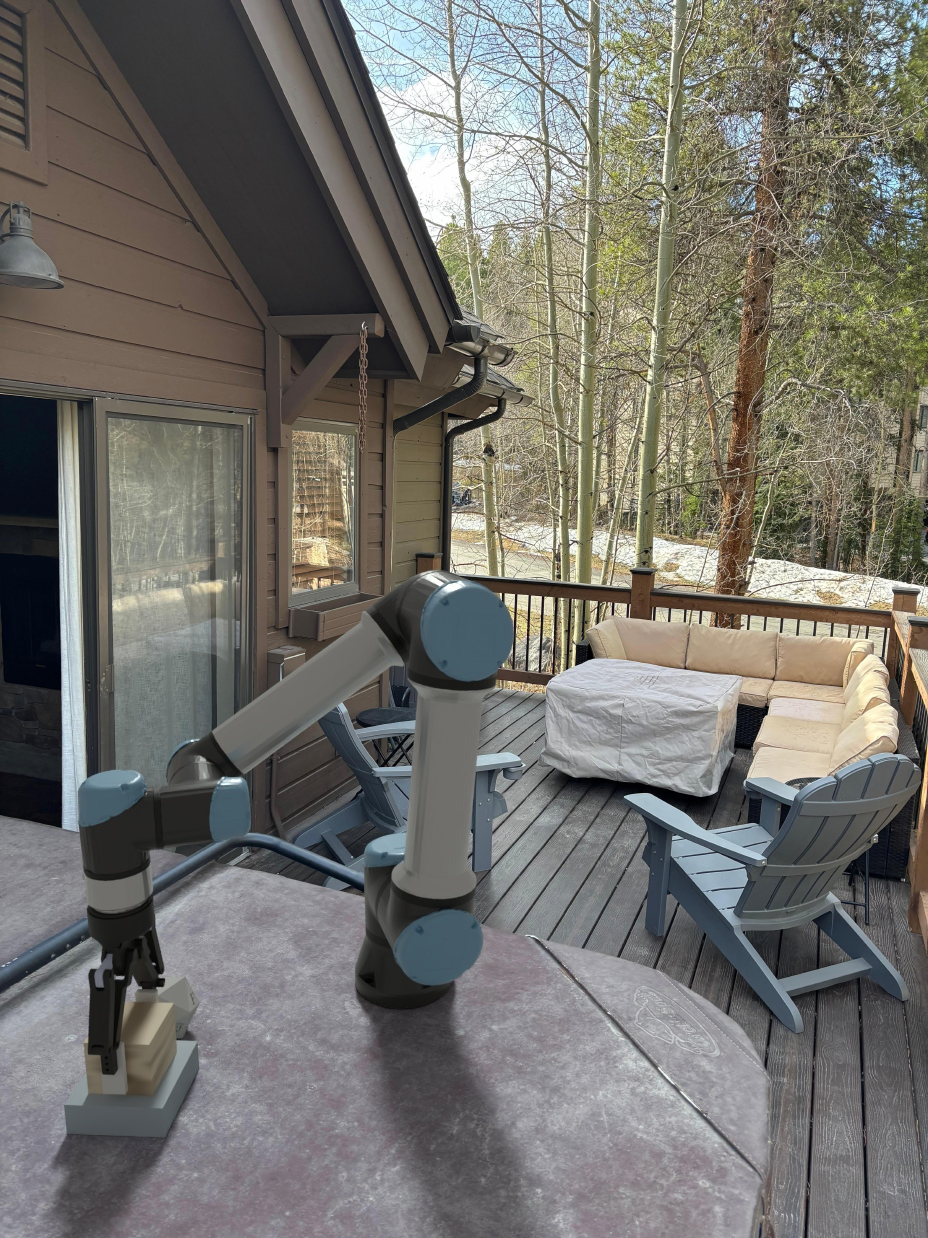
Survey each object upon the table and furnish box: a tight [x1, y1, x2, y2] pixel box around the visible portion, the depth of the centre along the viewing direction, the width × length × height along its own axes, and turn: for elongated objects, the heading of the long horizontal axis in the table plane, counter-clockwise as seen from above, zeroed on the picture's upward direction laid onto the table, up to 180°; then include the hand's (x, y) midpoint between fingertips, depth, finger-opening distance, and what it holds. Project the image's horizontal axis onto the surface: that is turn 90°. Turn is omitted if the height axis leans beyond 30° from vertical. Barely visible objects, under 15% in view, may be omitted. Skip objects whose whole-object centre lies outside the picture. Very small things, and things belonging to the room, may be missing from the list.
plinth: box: [63, 1039, 200, 1139], centre depth 110 cm, size 12×12×4 cm
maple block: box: [83, 1001, 177, 1096], centre depth 109 cm, size 8×8×7 cm
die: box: [156, 976, 201, 1040], centre depth 123 cm, size 8×9×10 cm
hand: (133, 1062), depth 110 cm, fingers open, 9 cm apart
